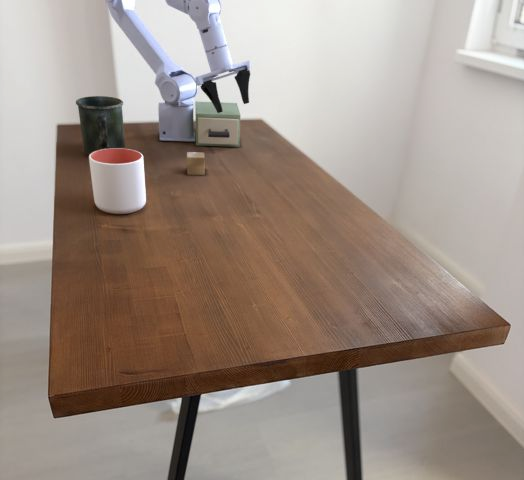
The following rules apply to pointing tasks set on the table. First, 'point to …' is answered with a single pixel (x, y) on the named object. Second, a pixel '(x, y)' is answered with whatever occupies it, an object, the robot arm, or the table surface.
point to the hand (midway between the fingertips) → (233, 107)
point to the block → (195, 163)
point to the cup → (118, 180)
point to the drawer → (217, 130)
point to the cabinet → (209, 111)
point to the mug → (101, 123)
